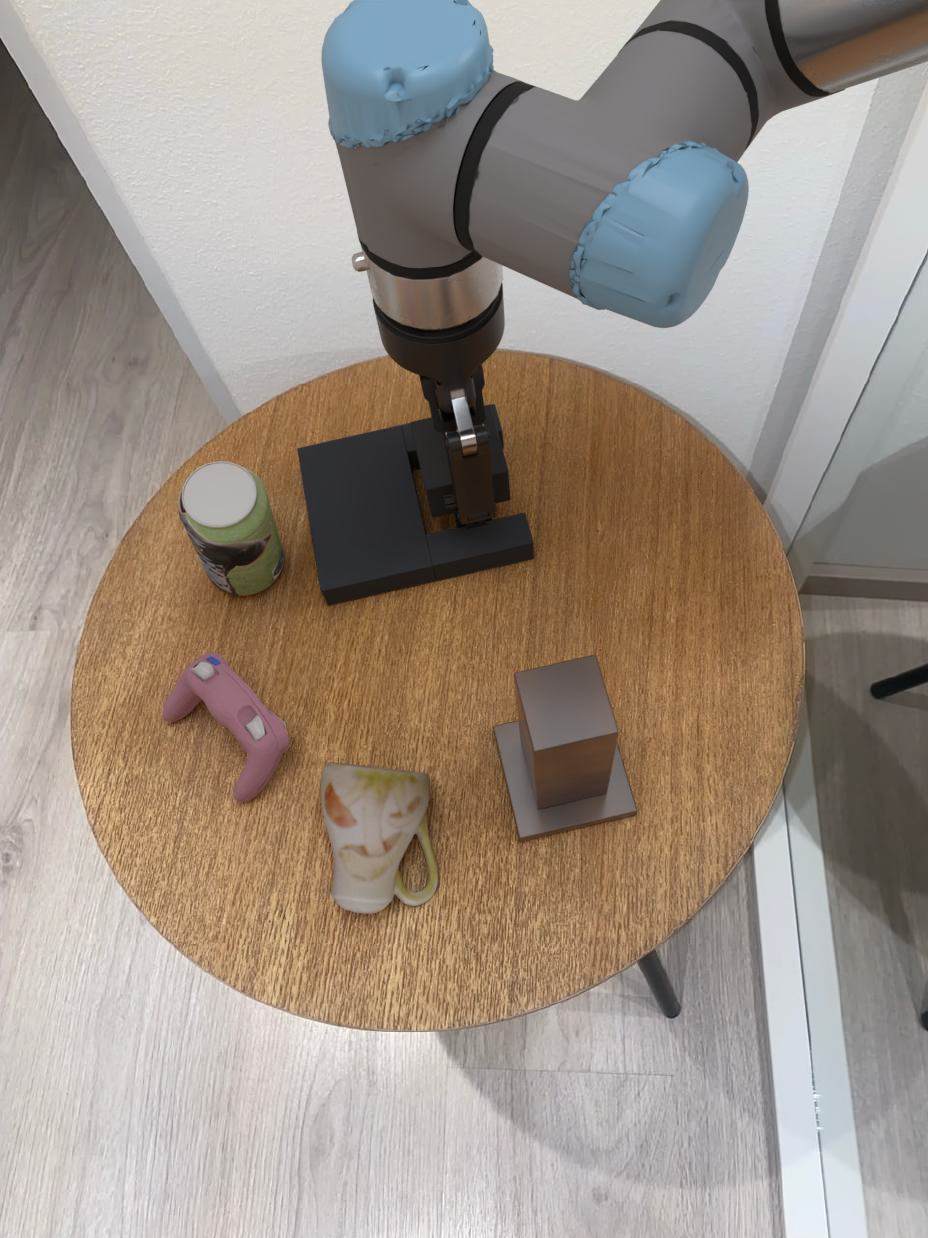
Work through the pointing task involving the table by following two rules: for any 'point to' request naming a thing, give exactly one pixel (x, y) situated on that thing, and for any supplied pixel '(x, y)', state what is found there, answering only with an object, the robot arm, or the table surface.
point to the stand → (563, 751)
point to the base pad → (390, 520)
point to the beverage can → (231, 527)
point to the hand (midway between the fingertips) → (466, 497)
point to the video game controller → (232, 718)
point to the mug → (375, 833)
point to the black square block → (438, 470)
